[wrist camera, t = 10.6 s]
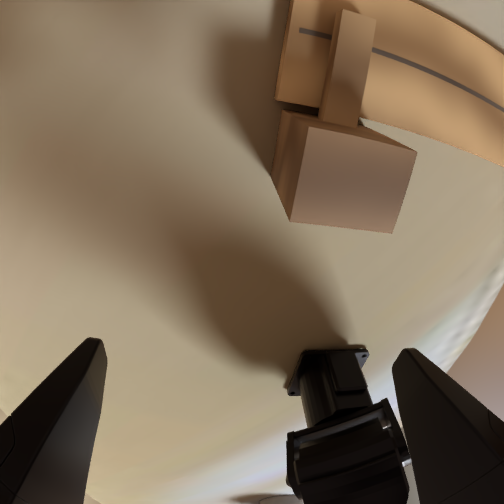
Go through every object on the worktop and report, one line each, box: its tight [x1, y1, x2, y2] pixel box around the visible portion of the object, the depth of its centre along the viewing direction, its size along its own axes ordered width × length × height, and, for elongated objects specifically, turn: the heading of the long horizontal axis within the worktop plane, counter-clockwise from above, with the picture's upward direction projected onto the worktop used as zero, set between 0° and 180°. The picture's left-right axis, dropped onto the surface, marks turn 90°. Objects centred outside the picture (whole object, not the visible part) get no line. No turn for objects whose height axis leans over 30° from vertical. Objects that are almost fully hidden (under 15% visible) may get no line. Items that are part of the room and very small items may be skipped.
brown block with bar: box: [271, 9, 417, 234], centre depth 14 cm, size 10×5×6 cm, turn 172°
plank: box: [274, 0, 504, 167], centre depth 15 cm, size 8×20×1 cm, turn 82°
